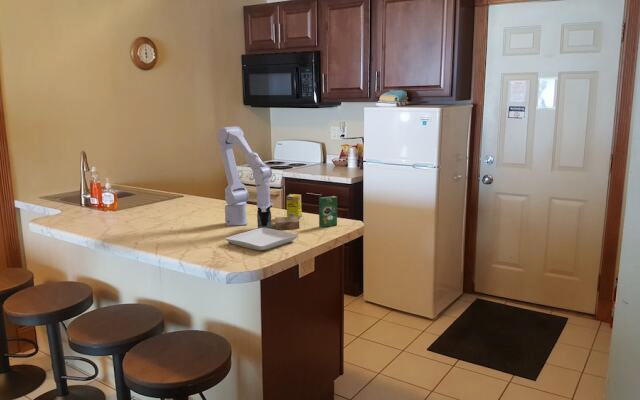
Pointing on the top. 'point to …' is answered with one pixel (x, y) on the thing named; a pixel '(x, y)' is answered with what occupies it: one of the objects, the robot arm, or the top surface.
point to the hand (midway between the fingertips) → (264, 224)
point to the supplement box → (294, 205)
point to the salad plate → (262, 238)
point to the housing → (267, 224)
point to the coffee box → (327, 211)
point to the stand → (287, 222)
